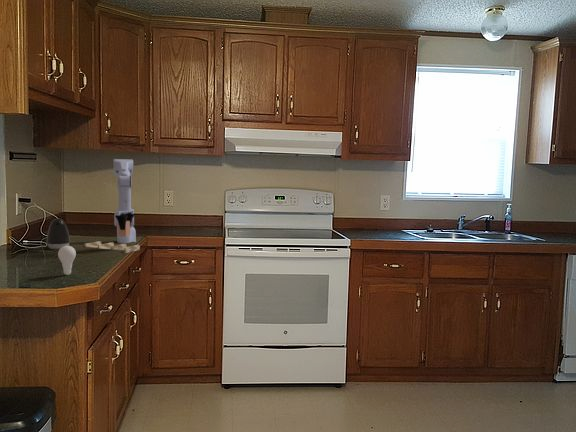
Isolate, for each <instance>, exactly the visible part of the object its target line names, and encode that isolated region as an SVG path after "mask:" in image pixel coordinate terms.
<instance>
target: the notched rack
mask: <svg viewBox="0 0 576 432" xmlns="http://www.w3.org/2000/svg"><path fill="white" fill-rule="evenodd" d="M84 247H85V248H93V249H100V250H101V249H102V250H112V251H113V250H114V251H120V252H121V253H124V254H127V253H131V252H138V251H140V248H141V245H140V244H135V245H129V246H127V243H119V244H116V245H115V243H114V242H113V241H112V242H105V243H102V241H100V240H97V241H94V242H87V243H86V242H85V243H84Z"/></svg>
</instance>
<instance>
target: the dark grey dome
mask: <svg viewBox="0 0 576 432" xmlns="http://www.w3.org/2000/svg"><path fill="white" fill-rule="evenodd" d="M47 230H48V231H47V236H46V244H47V247H48V248H49V249H50V250H51V249H52V250H60V248H62V247H64V246H70V243H71V239H70V238H71V237H70V233H69V229H68V227H67V223H65V221H64V219H62V218H59V217H58V218H54V219H53V220H52V221H51V222H50V225H49V227H48V229H47Z"/></svg>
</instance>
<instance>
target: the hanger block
mask: <svg viewBox="0 0 576 432" xmlns="http://www.w3.org/2000/svg"><path fill="white" fill-rule="evenodd" d="M129 235H130V221H126V227H125V230H120V226H119V223H118V236H129Z"/></svg>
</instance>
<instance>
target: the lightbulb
mask: <svg viewBox="0 0 576 432" xmlns="http://www.w3.org/2000/svg"><path fill="white" fill-rule="evenodd" d="M57 255H58V256H57V257H58V259H59V261H60V263H61V264H62V269H63V274H64V275H65V276H69V275H71V273H72V268H73V263H74V261H75V258H76V256H77V252H76V249H75V248H74V247H73V246H71V245H69V246H64V247H62V248H60V249H58V253H57Z"/></svg>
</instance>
